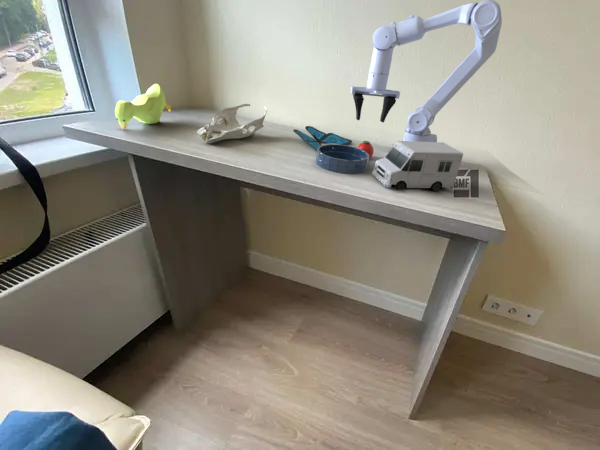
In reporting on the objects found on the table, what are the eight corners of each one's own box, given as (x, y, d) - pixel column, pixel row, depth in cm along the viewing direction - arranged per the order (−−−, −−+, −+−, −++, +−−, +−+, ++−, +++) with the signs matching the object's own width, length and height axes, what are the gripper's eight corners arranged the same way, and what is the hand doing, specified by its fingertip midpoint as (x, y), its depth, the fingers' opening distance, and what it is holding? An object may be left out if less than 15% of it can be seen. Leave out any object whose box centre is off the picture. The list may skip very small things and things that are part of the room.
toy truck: (368, 171, 100) (375, 135, 95) (439, 178, 101) (450, 142, 96) (377, 190, 88) (385, 150, 84) (457, 198, 89) (471, 158, 84)
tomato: (371, 157, 111) (374, 140, 109) (372, 162, 107) (375, 145, 105) (354, 155, 112) (357, 138, 109) (355, 160, 107) (358, 143, 105)
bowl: (365, 161, 107) (368, 148, 106) (367, 178, 95) (370, 163, 93) (317, 155, 108) (319, 141, 106) (313, 171, 96) (315, 156, 94)
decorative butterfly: (314, 130, 128) (315, 122, 127) (350, 143, 122) (352, 135, 121) (280, 144, 113) (281, 135, 112) (319, 160, 108) (321, 151, 106)
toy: (154, 136, 128) (107, 125, 109) (162, 87, 126) (116, 68, 107) (168, 139, 127) (124, 129, 108) (177, 90, 124) (133, 71, 105)
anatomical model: (275, 108, 119) (225, 116, 99) (273, 136, 123) (224, 149, 103) (238, 100, 125) (184, 106, 105) (238, 127, 129) (185, 138, 109)
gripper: (357, 72, 103) (349, 121, 109) (407, 77, 104) (396, 125, 111) (352, 69, 109) (345, 116, 115) (399, 74, 110) (390, 120, 117)
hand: (369, 120), depth 113 cm, fingers open, 7 cm apart
